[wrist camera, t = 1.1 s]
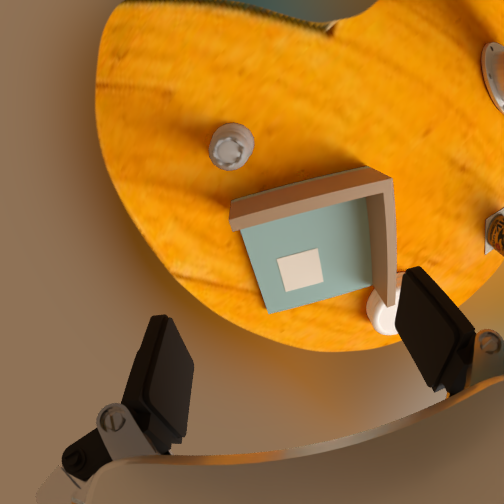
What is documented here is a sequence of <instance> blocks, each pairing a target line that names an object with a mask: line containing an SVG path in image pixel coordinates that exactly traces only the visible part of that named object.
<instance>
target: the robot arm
mask: <svg viewBox="0 0 504 504" xmlns="http://www.w3.org/2000/svg"><path fill="white" fill-rule="evenodd" d="M481 64H482V71H483V76H484V80H485V84H486V87H487V89H488V92H489V94H490V96H491V98H492V100H493V102H494V104H495V105H496V107H497V108H498V109H499V110H500V111H501V112H502V113H503V114H504V47H503V46H502V45H501V44H499V43H495V42H492V43H488V44H486V45H485V46H484V48H483V51H482V56H481ZM395 328H396V330H397V332H398V334H399V335H400V337H401V339H402V341H403V342H404V344H405V346H406V347H407V349H408V351H409V353H410V354H411V356H412V358H413V360H414V361H415V363H416V365H417V367H418V369H419V371H420V372H421V374H422V376H423V378H424V380H425V382H426V384H427V386H428V387H432V389H433V391H434V392H437V391H439V390H441V389H443V388H446V391H447V395H446V399H445V400H443V401H441V402H439V403H436V404H434V405H432V406H430V407H428V408H425V409H423V410H421V411H419V412H416V413H414V414H411V415H409V416H406V417H404V418H401V419H399V420H396V421H393V422H391V423H388V424H385V425H382V426H379V427H376V428H373V429H370V430H367V431H364V432H360V433H357V434H353V435H350V436H346V437H342V438H338V439H334V440H330V441H326V442H322V443H317V444H312V445H307V446H301V447H295V448H289V449H283V450H275V451H268V452H260V453H248V454H234V455H206V456H183V455H174V454H173V453H172V452H171V451H170V449H171V443H175V444H181V443H182V437H185V435H186V431H187V422H188V413H189V404H190V395H191V388H192V379H193V372H194V363H193V360H192V358H191V356H190V354H189V352H188V350H187V348H186V346H185V344H184V342H183V340H182V338H181V336H180V334H179V332H178V330H177V328H176V326H175V324H174V322H173V319H172V318H168V316H167V315H156V316H152V317H151V319H150V322H149V324H148V327H147V330H146V332H145V335H144V338H143V341H142V344H141V347H140V349H139V351H138V352H137V354H136V357H135V360H134V363H133V366H132V369H131V372H130V375H129V378H128V382H127V385H126V388H125V392H124V395H123V398H122V401H121V404H119V403H112V404H109V405H107V406H105V407H104V408H103V409H102V410H101V411H100V412H99V414H98V416H97V419H96V424H97V428H96V429H94V430H93V431H91V432H90V433H88V434H87V435H86V436H84V437H82V438H81V439H79V440H78V441H76V442H75V443H73V444H72V445H70V446H69V447H68V448H66V450H65V451H64V453H63V455H62V467H61V466H59V465H58V466H57V467H56V469H55V470H54V471H53V472H52V473H51V475H50V476H49V477H48V478H47V479H46V481H45V482H44V483H43V484H42V485H41V487H40V488H39V489H38V491H37V493H36V500H37V503H38V504H504V340H503V338H502V337H501V336H500V335H499V334H498V333H497V332H495V331H494V330H491V329H484V330H481V331H479V332H478V333H477V334H476V333H475V331H474V330H475V328H474V327H473V325H472V324H471V323H470V322H469V320H468V319H467V318H466V317H465V315H464V314H463V313H462V312H461V311H460V310H459V308H458V307H457V306H456V305H455V304H454V303H453V301H452V300H451V299H450V298H449V297H448V296H447V295H446V293H445V292H444V291H443V290H442V289H441V288H440V287H439V286H438V285H437V284H436V282H435V281H434V280H433V279H432V278H431V277H430V276H429V275H428V274H427V273H426V272H425V271H424V270H423V269H422V268H421V267H420V266H417V267H413V268H409V269H407V270H406V272H405V273H404V274H403V276H402V283H401V289H400V295H399V301H398V307H397V312H396V317H395Z"/></svg>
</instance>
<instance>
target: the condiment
mask: <svg viewBox="0 0 504 504" xmlns="http://www.w3.org/2000/svg"><path fill="white" fill-rule="evenodd" d="M493 249H495V250H497V251H498V252H499V253H500V254H501V255H503V256H504V208H503V209H501V210H500V211H498V212H496V213H495V214H493V215H492V216H490V217H489V218H487V219H486V229H485V255H486V254H487V253H489V252H490V251H491V250H493Z"/></svg>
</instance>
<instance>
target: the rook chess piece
mask: <svg viewBox="0 0 504 504" xmlns="http://www.w3.org/2000/svg"><path fill="white" fill-rule="evenodd" d="M253 148H254V137H253V136H252V134H251V132H250V130H249V129H247V128H246V127H245V126H244V125H241V124H237V123H228V124H225V125H223V126H221V127H219V128H218V129H217V130H216V131H215V133H214V134H213V136H212V140H211V143H210V146H209V157H210V159H211V161H212V162H213V164H214V165H216V166H217V167H218V168H220V169H223V170H227V171H229V170H236V169H238V168H240V167H242V166H243V165H244V164H245V162H246V161H247V160H248V158H249V156H250V155H251V154H252V151H253Z"/></svg>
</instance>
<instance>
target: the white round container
mask: <svg viewBox="0 0 504 504" xmlns="http://www.w3.org/2000/svg"><path fill="white" fill-rule="evenodd" d="M404 273H405V272H400V273H397V274H396V299H395V305H393V306H390V307H388V308H387V307H386V306H385V304H384V302H383V301H382V299H381V298H380V296H379V294H378V293H377V291H376V290H375V289H374V290H373V291H372V293H371V294H370V296H369V298H368V301H367V306H366V311H367V315H368V318H369V319H370V321H371V323H372V325H373V327H374V329H375V330H376V331H377V332H379V333H380V334H383V335H394V334H398V332H397V330H396V328H395V317H396V312H397V307H398V301H399V295H400V289H401V283H402V276H403V274H404Z"/></svg>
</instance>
